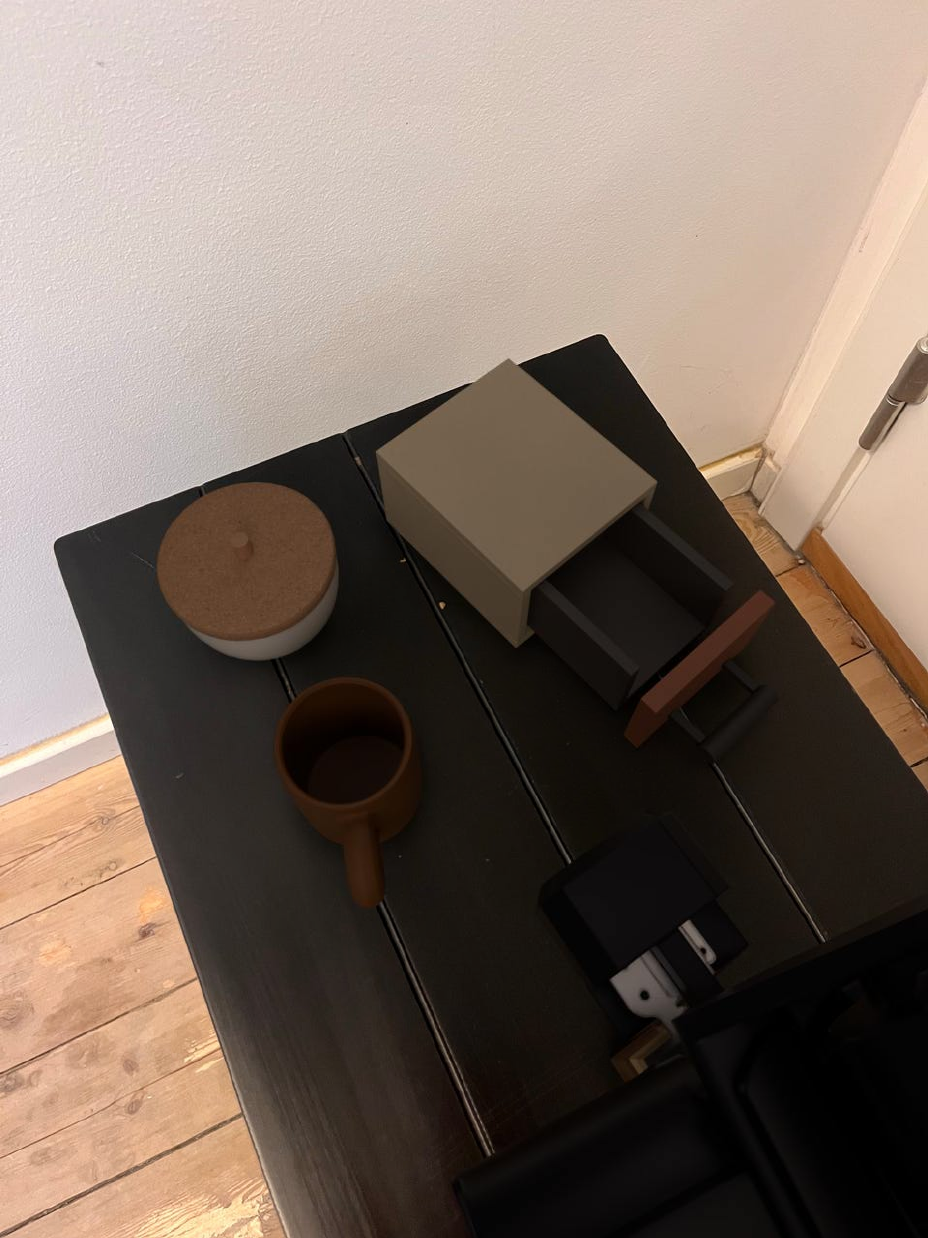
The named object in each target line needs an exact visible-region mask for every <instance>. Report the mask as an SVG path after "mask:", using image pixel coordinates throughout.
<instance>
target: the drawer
mask: <svg viewBox="0 0 928 1238" xmlns="http://www.w3.org/2000/svg"><path fill="white" fill-rule="evenodd" d="M734 585H735V583H734V582H733V580H731V579H730V578H729V577H727V576H726V575H725V574H724V573H722V571H720V570H719V569H718V568H717V567H716V566H714V565H713V564H712V562H710V561H709V560H708V559H706V558H705V557H704V556H703V555H702V554H700V553H699V552H698V551H697V550H696V549H695V548H693V547H692V546H691V545H690V544H689V543H687V541H685V540H684V539H683V538H682V537H680V536H679V535H678V534H677V533H676V532H674V531H673V530H672V529H671V528H670V527H669V526H667V525H666V524H665V523H664V522H663V521H661V520H660V519H659V518H658V517H657V516H656V515H654V514H653V513H652V512H651V511H650V510H649V509H648V510H647V509H646V508H645V507H644V506H643V505H641V504H640V503H637V504H636V505H635V506H634V507H632V508H631V509H630V510H629V511H628V512H626V513H625V514H624V515H623V516H621V517H620V518H619V519H618V520H616V521H615V522H614V523H613V524H612V525H610V526H609V527H608V528H607V529H605V530H604V531H603V532H602V533H601V534H599V535H598V536H597V537H596V538H594V539H593V540H592V541H591V542H590V543H588V544H587V545H586V546H585V547H583V548H582V549H581V550H580V551H579V552H577V553H576V554H575V555H574V556H572V557H571V558H570V559H569V560H567V561H566V562H565V563H564V564H563V565H561V566H560V567H559V568H558V569H556V570H555V571H554V572H553V573H552V574H550V575H549V576H548V577H547V578H545V579H544V580H543V581H542V582H541V583H539V584H538V585H537V586H536V587H534V588H533V589H532V590H531V595H530V602H529V610H528V617H527V625H528V626H529V627H530V628H531V629H532V630H533V631H534V632H535V633H534V634H535V635H537V636H538V637H539V638H540V639H541V640H542V641H543V642H544V643H545V644H546V645H547V646H548V647H549V648H550V649H551V650H552V651H553V652H554V653H555V654H557V656H558V657H560V658H561V659H562V660H563V661H564V663H566V664H567V666H569V667H570V668H571V669H572V670H573V671H574V672H575V673H576V674H577V675H578V676H579V678H581V679H582V680H583V681H584V682H585V683H586V684H587V685H589V687H590V688H591V689H593V690H594V691H595V692H596V694H598V696H600V697H601V698H602V700H604V701H605V702H606V703H607V704H608V705H609V707H611V708H612V709H613V710H614V711H615V712H617V711H618V710H619V709H621V708H622V707H623V706H624V705H625V704H626V703H627V702H628V701H629V700H630V699H632V697H634V696H635V695H636V694H637V693H638V692H639V691H641V689H643V688H644V687H645V686H646V685H647V684H648V683H650V681H651V680H652V679H653V678H655V677H656V676H657V675H658V674H659V673H660V672H661V671H662V670H663V669H665V667H667V666H668V665H669V664H670V663H672V662H673V660H674V659H676V658H677V657H678V656H679V655H680V654H681V653H682V652H683V651H685V649H686V648H688V647H689V646H690V645H691V644H693V642H694V641H695V640H697V638H699V636H701V635H702V634H704V632H705V631H706V630H708V629H709V628H710V627H711V626H712V624H713V622H714V620H715V618H716V617H717V615H718V613H719V611H720V610H721V608H722V606H723V605H724V603H725V601H726V599H727V598H728V595H729V594H730V593H731V591H732V589H733V587H734ZM775 604H776V602H775V600H774V599H772V598H771V597H770V596H768V595H767V594H766V593H765V592H764V591H762V589H759V590H757V592H755V594H754V595H753V596H751V597H750V598H749V599H748V600H747V601H746V602H745V603H744V604H743V605H741V606H740V607H739V608H738V609H737V610H736V611H735V612H734V613H733V614H731V615H730V617H728V618H727V619H726V620H725V621H724V622H722V624H721V625H719V626H718V627H717V628H716V629H715V630H714V631H713V632H712V633H711V634H710V635H709V636H707V637H706V638H705V639H704V640H703V641H702V642H701V643H700V644H698V645H697V647H695V648H694V649H693V650H692V651H691V652H690V653H689V654H688V655H687V656H686V657H685V658H683V659H682V660H681V661H679V663H678V664H677V665H676V666H675V667H673V668H672V669H671V670H670V671H669V672H668V673H667V674H666V675H665V676H664V677H662V678H661V679H660V680H659V681H658V682H657V683H656V684H655V685H654V686H653V687H651V688H650V690H648V691H647V692H646V693H645V694H644V695H642V697H640V699H639V701H638V703H637V704H636V705H637V706H636V708H635V710H634V711H633V714H632V716H631V718H630V720H629V722H628V723H627V726H626V728H625V729H624V730H625V731H624V732H623V736H624V737H625V738H626V739H627V740H628V741H629V742H630V743H631V744H632V745H633V746H634V747H635V748H636V749H637V748H639V747H640V746H641V745H642V744H643V743H644V742H645V741H647V739H648V738H650V736H652V735H653V734H654V733H655V732H656V731H657V730H658V729H659V728H661V726H662V725H664V723H666V722H667V721H668V720H670V721H671V722H672V724H673V725H675V726H676V727H677V728H678V729H679V730H680V731H681V732H682V733H683V734H684V735H686V737H687V738H689V739H690V740H691V742H693V743H694V744H695V745H696V751H697V754H698V755H699V756H700V758H701V759H702V760H704V761H705V762H706V763H708V764H709V765H715V764H716V763H717V762H718V761H719V760H720V759H721V758H722V757H723V756H724V755H725V754H726V753H727V752H728V751H729V750H730V749H731V748H732V747H733V746H735V744H736V743H737V742H738V741H739V740H740V739H741V738H742V737H743V736H745V734H746V733H748V731H749V730H751V729H752V727H753V726H755V725H756V724H757V722H759V720H761V719H762V718H763V717H764V716H765V715H767V713H768V712H769V711H770V710H771V709H772V708H773V707H774V706H775V705H776V704H777V703H778V702H779V700H780V697H779V695H778V693H777V692H776V690H775V689H774V688H772V687H771V686H769V685H768V684H759V683H758V682H757V681H756V680H754V679H753V678H752V677H751V676H750V675H749V674H748V673H747V672H745V671H744V669H742V668H741V667H740V666H739V665H737V664H736V662H734V661H733V659H735V657H737V655H738V654H740V653H741V652H742V651H743V650H744V649H745V648H746V647H747V645H748V644H749V642H750V641H751V639H752V638H753V637H754V635H755V634H756V632H757V631H758V629H759V628H760V627H761V625H762V623H763V622H764V621H765V619H766V618H767V616H768V615H769V613H770V612H771V610H772V609H773V608H774V606H775ZM721 670H723V671H725V672H726V673H727V674H728V675H729V676H730V677H732V678H733V679H734V681H736V682H737V683H738V684H739V685H740V686H741V687H743V688H744V690H745V691H747V692H748V693H749V694H750V695H749V696H748V697H747V698H745V700H744V701H742V703H740V704H739V706H738V707H736V708H735V709H734V710H733V711H732V712H731V713H730V714H729V715H728V716H727V717H726V718H725V719H724V720H723V721H721V723H720V724H718V726H717V727H715V729H713V730H712V731H711V732H710V734H708V735H707V736H706V735H704V733H703V732H702V731H701V730H699V728H697V727H696V726H695V725H694V724H693V723H692V722H691V721H690V720H689V719H688V718H686V716H684V715H683V714H682V713H681V712H680V711H679V709H681V708H682V707H683V706H684V705H685V704H686V703H687V702H688V701H689V700H690V699H691V698H692V697H693V696H695V694H697V693H698V692H699V691H700V690H701V689H702V688H703V687H704V686H706V685H707V684H708V683H709V681H711V680H712V679H713V678H714V677H715V676H716V675H717V674H718V673H719V672H720V671H721Z"/></svg>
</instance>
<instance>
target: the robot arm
mask: <svg viewBox="0 0 928 1238" xmlns="http://www.w3.org/2000/svg"><path fill="white" fill-rule="evenodd" d="M693 837H694V836H692V835H691V834H690V832H689V831H688V830H687V829H686V828H685V826H684V824H683V823H682V822H681V821H680V820H679V818H678V817H677V815H675V813H674V812H673V810H667V809H658V808H647V809H646V810H644V811H642V812H640V813H638V814H637V815H636V816H634V817H633V818H631V819H630V820H629V821H627V822H626V823H624V824H623V825H622V826H620V827H619V828H618V829H616V830H614V831H613V832H612V833H611V834H609V835H608V836H607V837H605V838H603V839H602V840H600V841H599V842H598V843H596V844H595V845H594V846H592V847H591V848H589V849H588V850H587V851H585V852H584V853H581V855H579V856H578V857H577V858H575V859H574V860H572V861H571V862H570V863H568V864H567V865H565V866H564V867H562V868H561V869H560V870H559V871H557V872H556V873H554V875H552V876H551V877H550V878H549V879H547V880H546V881H545V882H544V883H542V884H541V886H540V889H539V891H538V895H537V901H536V902H537V903H536V909H535V915H536V916H537V918H538V919H539V920H540V922H541V924H542V925H543V926H544V928H545V929H546V931H547V932H548V933H549V935H550V937H551V938H552V940H553V941H554V943H555V944H556V946H557V947H558V949H559V950H560V952H561V953H562V954H563V956H564V957H565V959H566V961H567V962H568V963H569V965H570V966H571V968H572V969H573V971H574V972H575V974H576V975H577V976H578V977H579V978H580V979H581V981H583V983H584V985H585V987H586V989H587V990H588V991H589V993H590V994H591V996H592V998H593V999H594V1001H595V1002H596V1003H597V1005H598V1007H599V1008H600V1009H601V1011H602V1012H603V1014H604V1015H605V1016H606V1018H607V1020H608V1021H609V1023H610V1024H611V1026H612V1027H613V1028H614V1030H615V1032H616V1033H617V1034H618V1036H619V1037H620V1039H621V1041H622V1042H623V1043H624V1044H627V1043H628V1042H629V1041H632V1040H633V1039H634V1038H635V1037H638V1036H639V1035H641V1034H642V1033H643V1032H645V1031H646V1030H648V1029H649V1028H650V1027H652V1026H655V1027H658V1026H659V1025H661V1024H663V1026H664V1027H665V1029H666V1030H667V1031H668V1033H669V1034H670V1036H671V1038H670V1039H668V1040H667V1041H666V1042H665V1043H663V1044H662V1045H661V1046H660V1047H658V1048H657V1049H656V1050H654V1051H653V1052H652V1053H651V1054H649V1055H648V1056H647V1057H646V1058H644V1059H643V1060H644V1062H645V1063H646V1065H647V1066H648V1068H646V1069H645V1070H644V1071H643V1072H642V1073H640V1074H639V1075H638V1076H637V1077H635V1078H633V1079H631V1080H629V1081H627V1082H625V1081H624V1083H622V1084H620V1085H618V1086H616V1087H614V1088H613V1089H612V1088H611V1090H609V1091H607V1092H605V1093H603V1094H601V1095H599V1096H598V1097H596V1098H594V1099H592V1100H590V1101H588V1102H587V1103H584V1104H583V1105H581V1106H579V1107H577V1108H575V1109H574V1110H572V1111H570V1112H568V1113H566V1114H564V1115H562V1116H560V1117H558V1118H556V1119H555V1120H553V1121H551V1122H549V1123H548V1124H545V1125H544V1126H542V1127H540V1128H538V1129H536V1130H535V1131H533V1132H531V1133H529V1134H527V1135H525V1136H523V1137H521V1138H520V1139H518V1140H515V1141H514V1142H512V1143H510V1144H508V1145H507V1146H505V1147H503V1148H501V1149H499V1150H497V1151H495V1152H494V1153H491V1154H490V1155H488V1156H486V1157H484V1158H482V1159H480V1160H479V1161H477V1162H475V1163H472V1165H469V1166H468V1167H465V1168H464V1169H462V1170H459V1171H458V1172H457V1173H454V1174H453V1175H451V1176H450V1185H451V1187H452V1191H453V1193H454V1197H455V1198H456V1202H457V1204H458V1206H459V1209H460V1212H461V1215H462V1217H463V1219H464V1223H465V1225H466V1228H467V1231H468V1233H469V1236H470V1238H928V891H927V892H925V893H923V894H921V895H919V896H917V897H915V898H913V899H911V900H908V901H907V902H904V903H903V904H900V905H898V906H896V907H894V908H892V909H889V910H888V911H886V912H884V913H882V914H880V915H878V916H875V917H873V918H871V919H869V920H867V921H865V922H863V923H861V924H858V925H856V926H854V927H853V928H850V929H848V930H846V931H844V932H841V933H840V934H838V935H836V936H834V937H831V938H830V939H827V940H825V941H823V942H821V943H819V944H817V945H815V946H813V947H811V948H809V949H806V950H804V951H802V952H800V953H797V954H796V955H794V956H791V957H790V958H788V959H785V960H782V961H781V962H779V963H777V964H775V965H773V966H770V967H768V968H766V969H764V970H762V971H760V972H758V973H757V974H754V975H752V976H750V977H748V978H745V979H743V980H741V981H739V982H738V983H737V984H735V985H733V986H731V987H729V988H728V989H725V988H724V987H723V986H722V985H721V983H720V982H719V981H718V979H717V978H716V977H718V976H719V975H720V974H721V973H722V972H723V971H724V970H725V969H726V968H728V966H729V965H730V964H731V963H733V961H735V960H736V959H737V958H738V957H739V956H740V955H741V954H742V953H743V952H745V950H746V949H747V948H749V947H750V943H749V942H748V940H747V939H746V937H744V935H743V933H741V931H740V930H739V929H738V927H737V926H736V924H734V922H733V921H732V919H731V918H730V917H729V916H728V913H726V912H725V910H724V909H723V907H721V905H720V904H719V903H718V901H717V899H718V898H719V897H721V896H722V895H723V894H725V892H726V891H728V890H730V889H731V887H732V886H731V885H730V884H729V882H728V881H727V879H726V878H725V877H724V876H723V874H722V873H721V872H720V870H719V869H718V868H717V867H716V866H715V864H714V863H713V861H712V860H711V859H710V858H709V856H707V854H706V853H705V851H704V850H703V848H701V846H700V845H699V844H698V842H697V841H696V840H695V838H693ZM687 1005H688V1006H687ZM688 1007H689V1009H688Z"/></svg>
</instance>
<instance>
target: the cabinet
mask: <svg viewBox="0 0 928 1238" xmlns="http://www.w3.org/2000/svg"><path fill="white" fill-rule="evenodd" d="M375 457H376V462H377V467H378V474H379V475H378V476H379V480H380V481H379V482H380V486H381V493H382V500H383V507H384V512H385V513H384V514H385V519H386V522H387V523H388V524H389V525H391V527H392V528H393V529H394V530H395V531H396V532H398V533H399V534H400V536H402V538H404V539H405V540H406V541H407V542H408V543H409V544H410V545H411V546H412V547H413V548H414V549H415V550H416V552H418V553H419V554H420V555H421V556H422V557H423V558H424V559H425V560H426V561H427V562H428V563H429V564H430V565H431V566H432V567H433V568H434V569H435V570H436V571H437V572H438V573H439V574H440V575H441V576H442V577H443V578H444V579H445V580H446V581H447V582H448V583H449V584H450V585H451V586H452V587H453V588H454V589H455V590H456V591H457V592H458V593H459V594H460V595H461V596H463V598H464V599H465V600H466V601H467V602H469V604H470V605H472V606H473V608H475V610H476V611H477V612H479V614H481V616H482V617H483V618H484V619H486V620H487V622H489V623H490V624H491V625H492V626H493V628H495V629H496V630H497V632H499V633H500V634H501V635H502V636H503V638H505V640H507V641H508V642H509V643H510V644H511V645H512V646H513V647H514V648H515V649H517V648H519V647H520V646H521V645H522V644H523V643H524V642H525V641H527V640H528V639H529V638H530V637H532V636H533V635H534V634H536V633H535V632H534V631H533V630H532V629H531V628H530V627H529V626H528V625H527V617H528V610H529V602H530V595H531V590H532V589H533V588H534V587H536V586H537V585H538V584H539V583H541V582H542V581H543V580H544V579H545V578H547V577H548V576H549V575H550V574H552V573H553V572H554V571H555V570H556V569H558V568H559V567H560V566H561V565H563V564H564V563H565V562H566V561H567V560H569V559H570V558H571V557H572V556H574V555H575V554H576V553H577V552H579V551H580V550H581V549H582V548H583V547H585V546H586V545H587V544H588V543H590V542H591V541H592V540H593V539H594V538H596V537H597V536H598V535H599V534H601V533H602V532H603V531H604V530H605V529H607V528H608V527H609V526H610V525H612V524H613V523H614V522H615V521H616V520H618V519H619V518H620V517H621V516H623V515H624V514H625V513H626V512H628V511H629V510H630V509H631V508H632V507H634V506H635V505H636V504H637V503H640V504H641V505H643V506H644V507H645V508H646V509H647V510H648V511H649V509H650V506H651V503H652V500H653V496H654V494H655V491H656V488H657V485H658V481H657V480H656V479H655V478H654V477H653V476H651V475H650V474H649V473H648V472H647V471H645V470H644V469H643V468H642V467H640V466H639V465H638V464H637V463H636V462H635V461H633V459H631V458H629V456H627V455H626V454H625V453H624V452H622V451H621V450H620V449H619V448H618V447H617V446H615V444H614V443H612V442H610V441H609V440H608V439H607V438H606V437H605V436H603V435H602V434H601V433H600V432H599V431H597V430H596V429H595V428H593V426H592V425H590V424H589V423H588V422H587V421H585V420H584V419H583V418H581V416H579V415H578V414H577V413H576V412H574V411H573V410H572V409H571V408H570V407H569V406H567V405H566V404H565V403H563V402H562V401H561V400H560V399H559V398H558V397H556V396H555V395H554V394H552V392H550V391H549V390H548V389H547V388H545V386H543V385H542V384H541V383H539V382H538V381H537V380H536V379H535V378H533V377H532V376H531V375H530V374H529V373H528V372H526V371H525V370H524V369H522V368H521V366H519V365H518V364H517V363H515V362H514V361H513V360H512V359H511V358H510V357H509V358H506V359H504V361H502V362H500V363H499V364H498V365H497V366H495V367H494V368H493V369H490V370H489V371H488V372H487V373H485V374H484V375H482V376H481V377H479V378H478V379H476V380H475V381H474V382H472V383H471V384H470V385H468V386H466V387H465V388H463V389H462V390H460V391H459V392H458V393H456V394H455V395H454V396H452V397H451V398H449V399H448V400H447V401H445V402H444V403H443V404H441V405H440V406H438V407H436V408H435V409H434V410H432V411H431V412H429V413H428V414H427V415H425V416H424V417H422V418H421V419H419V420H418V421H417V422H416V423H414V424H412V425H411V426H410V427H408V428H406V429H405V430H404V431H402V432H401V433H400V434H398V435H397V436H395V437H394V438H392V439H391V440H389V441H388V442H387V443H385V444H384V445H383V446H381V447H379V448H378V449H377V450H376V451H375Z"/></svg>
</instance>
